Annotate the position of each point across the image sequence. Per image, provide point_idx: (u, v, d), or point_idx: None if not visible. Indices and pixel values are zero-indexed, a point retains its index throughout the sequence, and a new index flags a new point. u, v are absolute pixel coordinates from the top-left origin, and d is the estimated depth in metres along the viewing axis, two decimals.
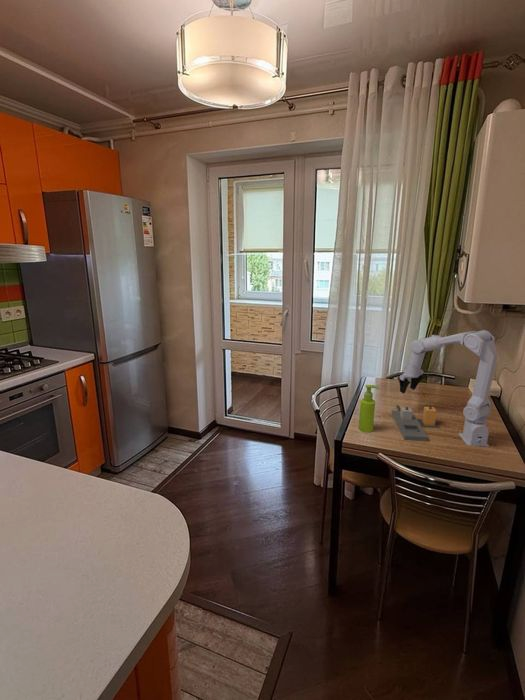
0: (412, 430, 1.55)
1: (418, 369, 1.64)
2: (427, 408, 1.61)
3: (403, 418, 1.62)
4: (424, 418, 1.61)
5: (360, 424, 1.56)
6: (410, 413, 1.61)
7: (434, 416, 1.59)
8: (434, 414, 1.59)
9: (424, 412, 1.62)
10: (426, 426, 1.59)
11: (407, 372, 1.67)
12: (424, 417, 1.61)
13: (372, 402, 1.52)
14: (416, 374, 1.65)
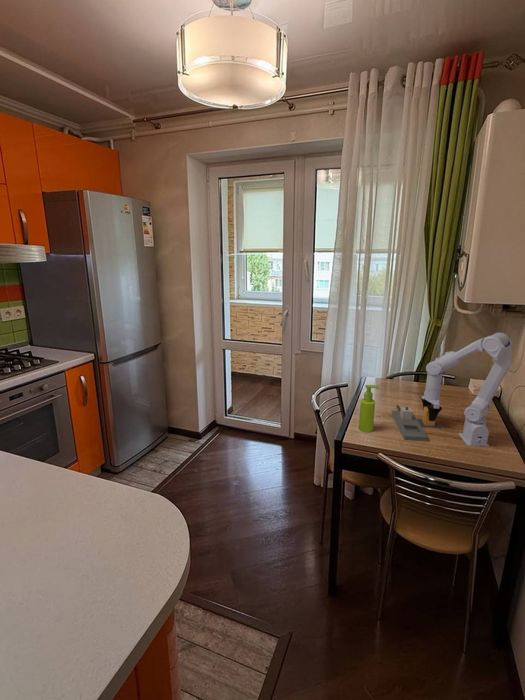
0: (412, 430, 1.55)
1: (439, 391, 1.57)
2: (427, 408, 1.61)
3: (403, 418, 1.62)
4: (424, 418, 1.61)
5: (360, 424, 1.56)
6: (410, 413, 1.61)
7: None
8: None
9: (424, 412, 1.62)
10: (426, 426, 1.59)
11: (432, 398, 1.56)
12: (424, 417, 1.61)
13: (372, 402, 1.52)
14: None
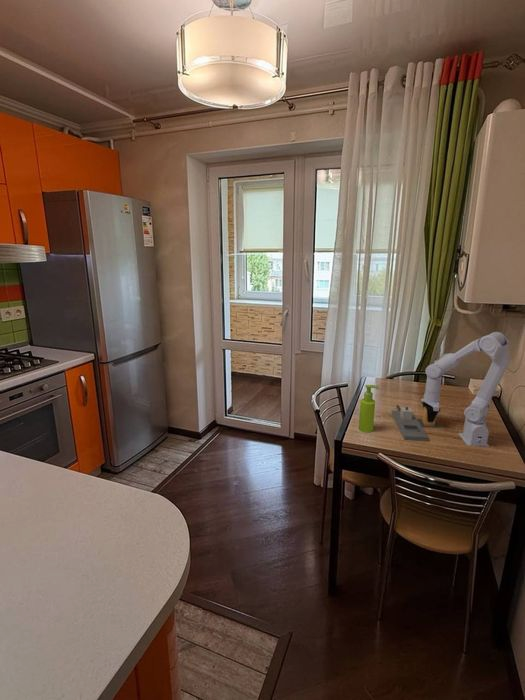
0: (412, 430, 1.55)
1: None
2: None
3: (403, 418, 1.62)
4: (424, 418, 1.61)
5: (360, 424, 1.56)
6: (410, 413, 1.61)
7: None
8: None
9: (424, 412, 1.62)
10: (426, 426, 1.59)
11: (431, 401, 1.57)
12: (424, 417, 1.61)
13: (372, 402, 1.52)
14: (438, 399, 1.58)
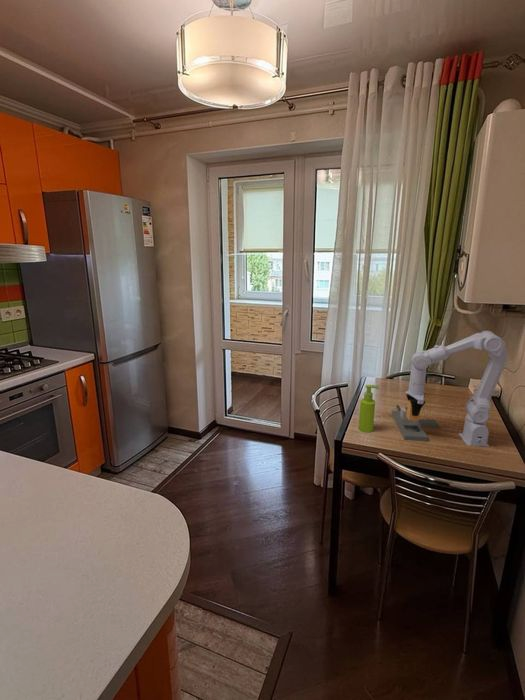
0: (412, 430, 1.55)
1: None
2: None
3: (403, 418, 1.62)
4: (408, 413, 1.52)
5: (360, 424, 1.56)
6: None
7: None
8: None
9: (408, 406, 1.52)
10: (426, 426, 1.59)
11: (416, 393, 1.47)
12: (408, 411, 1.52)
13: (372, 402, 1.52)
14: (423, 391, 1.48)
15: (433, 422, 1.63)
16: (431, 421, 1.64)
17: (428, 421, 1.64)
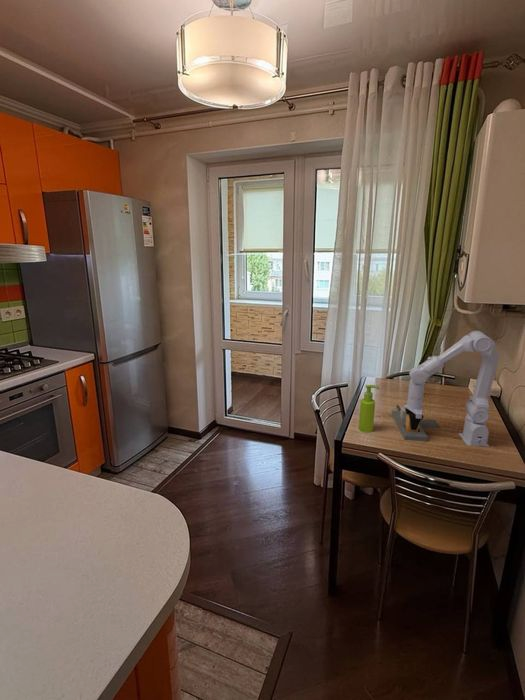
0: None
1: (422, 399, 1.50)
2: None
3: (403, 418, 1.62)
4: (407, 426, 1.54)
5: (360, 424, 1.56)
6: None
7: None
8: None
9: (407, 420, 1.54)
10: (426, 426, 1.59)
11: (414, 407, 1.49)
12: (407, 425, 1.54)
13: (372, 402, 1.52)
14: None
15: (433, 422, 1.63)
16: (431, 421, 1.64)
17: (428, 421, 1.64)
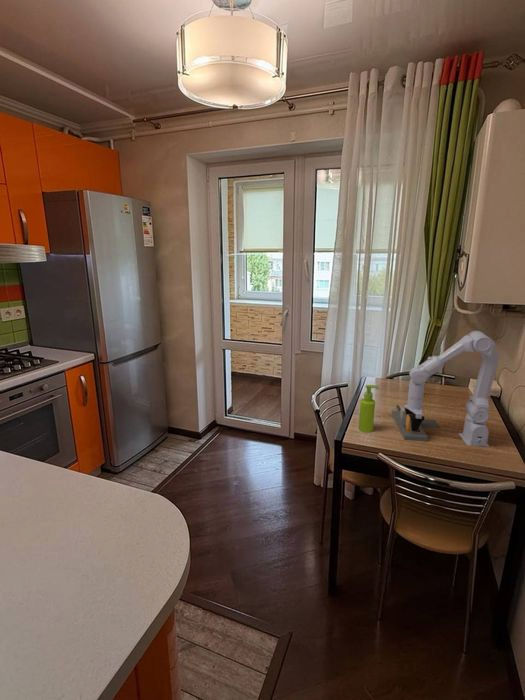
0: None
1: (422, 399, 1.50)
2: None
3: (403, 418, 1.62)
4: (407, 426, 1.54)
5: (360, 424, 1.56)
6: None
7: None
8: None
9: (407, 420, 1.54)
10: (426, 426, 1.59)
11: (414, 407, 1.49)
12: (407, 425, 1.54)
13: (372, 402, 1.52)
14: None
15: (433, 422, 1.63)
16: (431, 421, 1.64)
17: (428, 421, 1.64)
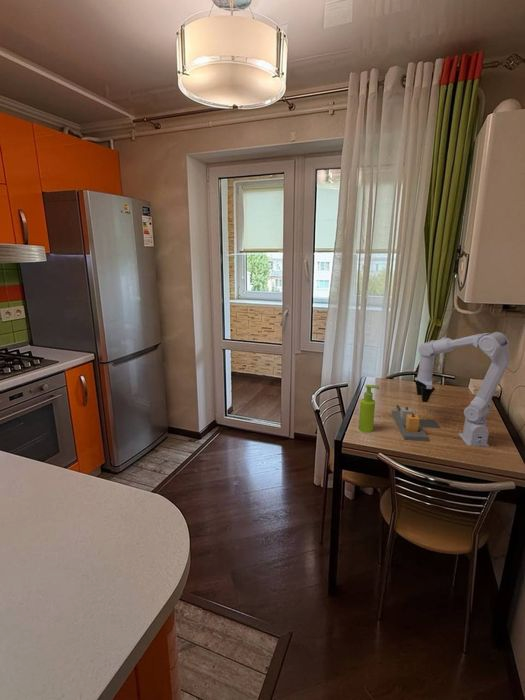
0: None
1: (432, 372, 1.59)
2: (410, 416, 1.53)
3: (403, 418, 1.62)
4: (407, 426, 1.54)
5: (360, 424, 1.56)
6: (410, 413, 1.61)
7: (417, 424, 1.51)
8: (417, 422, 1.51)
9: (407, 420, 1.54)
10: (426, 426, 1.59)
11: (425, 379, 1.58)
12: (407, 425, 1.54)
13: (372, 402, 1.52)
14: None
15: (433, 422, 1.63)
16: (431, 421, 1.64)
17: (428, 421, 1.64)
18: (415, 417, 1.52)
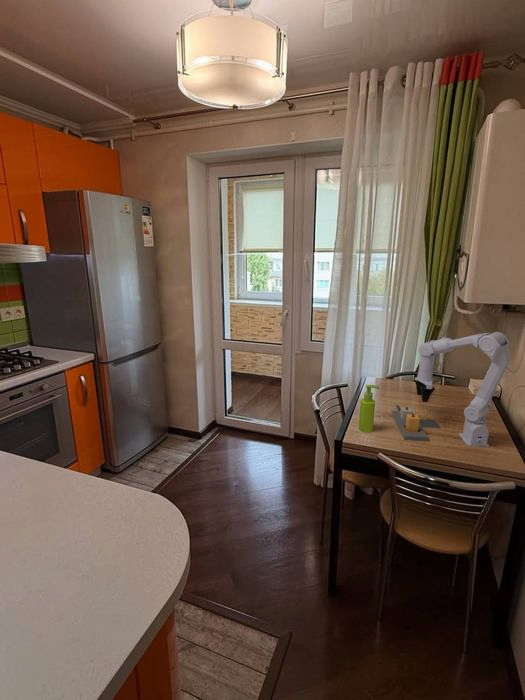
0: None
1: (432, 372, 1.59)
2: (410, 416, 1.53)
3: (403, 418, 1.62)
4: (407, 426, 1.54)
5: (360, 424, 1.56)
6: (410, 413, 1.61)
7: (417, 424, 1.51)
8: (417, 422, 1.51)
9: (407, 420, 1.54)
10: (426, 426, 1.59)
11: (425, 379, 1.58)
12: (407, 425, 1.54)
13: (372, 402, 1.52)
14: None
15: (433, 422, 1.63)
16: (431, 421, 1.64)
17: (428, 421, 1.64)
18: (415, 417, 1.52)
